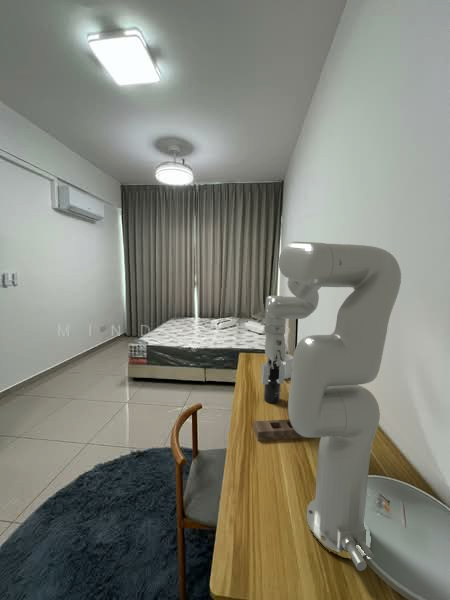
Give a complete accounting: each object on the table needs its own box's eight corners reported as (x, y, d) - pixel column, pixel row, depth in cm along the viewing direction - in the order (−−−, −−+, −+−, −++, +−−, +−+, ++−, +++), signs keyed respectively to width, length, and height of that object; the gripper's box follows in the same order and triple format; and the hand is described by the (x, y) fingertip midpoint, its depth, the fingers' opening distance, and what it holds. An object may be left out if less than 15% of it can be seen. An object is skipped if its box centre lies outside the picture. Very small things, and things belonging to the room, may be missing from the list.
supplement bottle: (279, 404, 103) (281, 377, 102) (263, 402, 105) (264, 375, 104) (279, 397, 110) (280, 371, 109) (264, 395, 111) (265, 369, 110)
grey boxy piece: (281, 380, 94) (282, 363, 94) (284, 384, 92) (284, 365, 91) (261, 381, 93) (261, 363, 93) (263, 384, 91) (263, 366, 90)
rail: (307, 426, 89) (308, 418, 88) (315, 437, 83) (316, 428, 82) (253, 429, 86) (253, 421, 86) (257, 440, 80) (258, 431, 80)
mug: (275, 372, 139) (276, 353, 138) (292, 374, 137) (293, 355, 136) (274, 381, 127) (275, 360, 126) (292, 383, 125) (293, 362, 124)
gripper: (293, 333, 83) (290, 386, 85) (277, 325, 99) (275, 369, 101) (272, 333, 82) (269, 386, 84) (259, 324, 98) (257, 369, 100)
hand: (272, 376), depth 92 cm, fingers closed on grey boxy piece, 3 cm apart
